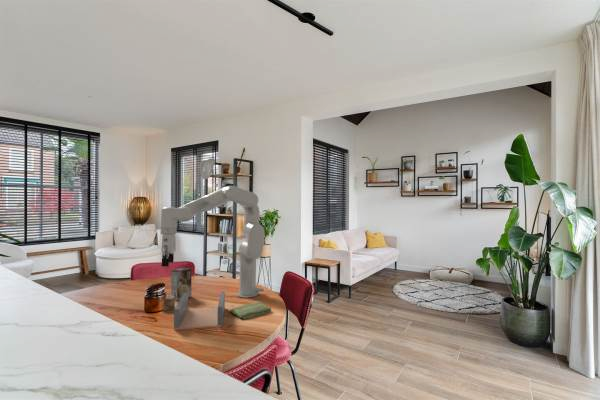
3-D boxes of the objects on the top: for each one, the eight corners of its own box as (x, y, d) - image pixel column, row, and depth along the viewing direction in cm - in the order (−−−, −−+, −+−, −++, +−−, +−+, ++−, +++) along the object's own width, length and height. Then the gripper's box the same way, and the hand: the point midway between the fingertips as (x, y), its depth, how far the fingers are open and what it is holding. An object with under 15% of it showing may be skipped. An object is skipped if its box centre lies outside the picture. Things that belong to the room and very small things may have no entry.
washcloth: (228, 313, 152) (228, 306, 153) (259, 306, 163) (259, 299, 163) (240, 321, 142) (241, 314, 142) (273, 313, 153) (273, 306, 153)
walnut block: (174, 307, 159) (174, 295, 159) (172, 310, 154) (172, 298, 154) (164, 307, 158) (164, 296, 158) (161, 311, 153) (161, 299, 153)
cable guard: (224, 309, 158) (224, 291, 158) (222, 327, 135) (222, 306, 135) (183, 311, 154) (183, 293, 154) (173, 330, 131) (174, 309, 131)
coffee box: (185, 294, 180) (185, 267, 180) (191, 296, 176) (192, 268, 176) (170, 298, 172) (170, 269, 172) (176, 300, 168) (177, 271, 168)
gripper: (172, 232, 150) (171, 267, 150) (180, 229, 168) (179, 261, 167) (155, 232, 149) (154, 268, 149) (165, 229, 166) (164, 261, 166)
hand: (167, 264), depth 158 cm, fingers open, 9 cm apart
